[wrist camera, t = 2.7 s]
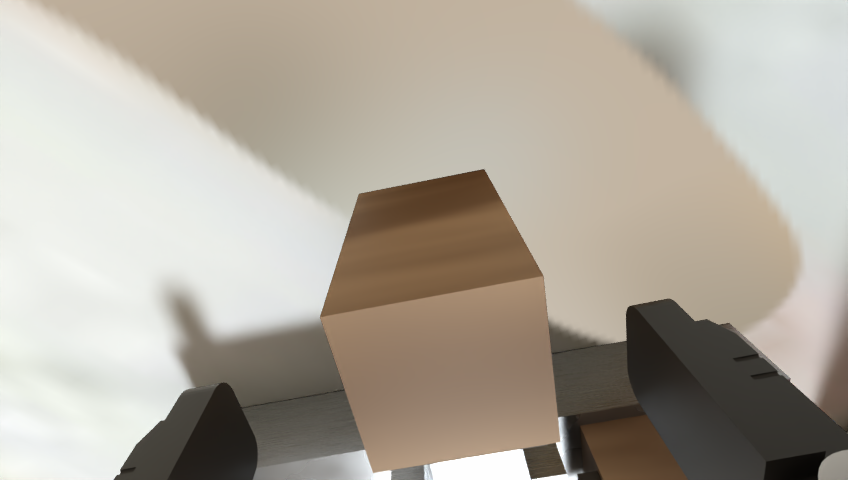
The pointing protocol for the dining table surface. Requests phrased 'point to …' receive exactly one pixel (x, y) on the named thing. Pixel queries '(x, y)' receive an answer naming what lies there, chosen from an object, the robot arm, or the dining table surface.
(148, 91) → the dining table surface
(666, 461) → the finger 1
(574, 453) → the rail
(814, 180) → the dining table surface
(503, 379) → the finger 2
